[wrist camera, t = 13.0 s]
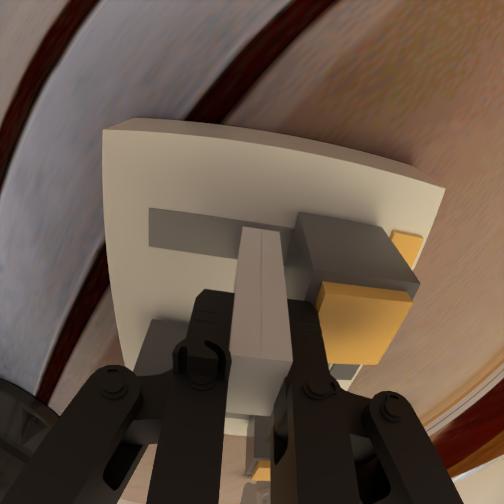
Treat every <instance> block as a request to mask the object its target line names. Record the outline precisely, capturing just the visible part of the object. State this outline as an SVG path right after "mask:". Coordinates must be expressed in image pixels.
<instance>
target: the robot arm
mask: <svg viewBox="0 0 504 504" xmlns="http://www.w3.org/2000/svg"><path fill="white" fill-rule="evenodd" d="M172 359H173V368H172V369H170V370H169V371H167V372H164V373H162V374H157V375H147V376H136V374H135V373H134V372H133V371H131V370H130V369H128V368H127V367H123V366H120V365H107V366H104V367H102V368H99V369H98V370H96V371H95V372H94V373H93V374H92V375H91V376H90V377H89V379H88V380H87V381H86V383H85V384H84V385H83V386H82V388H81V389H80V390H79V392H78V393H77V394H76V396H75V397H74V398H73V400H72V401H71V402H70V404H69V405H68V406H67V408H66V409H65V410H64V412H63V413H62V414H61V416H60V417H58V416H57V415H56V414H55V413H54V412H53V411H52V410H50V409H49V408H48V407H47V406H45V405H44V404H43V403H41V402H40V401H39V400H37V399H36V398H34V397H33V396H31V395H30V394H28V393H27V392H25V391H24V390H22V389H20V388H18V387H17V386H15V385H13V384H11V383H9V382H6V381H4V380H0V504H117V502H118V500H119V498H120V497H121V495H122V493H123V491H124V489H125V487H126V486H127V484H128V482H129V480H130V478H131V476H132V475H133V473H134V471H135V469H136V467H137V465H138V464H139V462H140V460H141V458H142V456H143V454H144V453H145V451H146V449H147V447H148V445H149V444H157V443H158V445H157V450H156V455H155V460H154V465H153V470H152V475H151V480H150V485H149V491H148V496H147V502H146V504H218V502H219V489H220V476H221V463H222V451H223V439H224V427H225V415H226V412H228V413H238V414H247V415H259V416H271V414H272V411H273V409H274V423H273V425H272V427H271V429H270V431H269V433H268V435H267V438H266V442H265V443H268V444H269V442H270V504H464V503H463V501H462V499H461V498H460V495H459V493H458V491H457V490H456V487H455V485H454V483H453V481H452V479H451V478H450V476H449V474H448V472H447V470H446V468H445V466H444V464H443V462H442V460H441V458H440V457H439V455H438V453H437V451H436V449H435V447H434V445H433V444H432V442H431V440H430V438H429V436H428V434H427V433H426V431H425V429H424V427H423V426H422V424H421V422H420V420H419V418H418V417H417V415H416V413H415V411H414V410H413V408H412V406H411V404H410V403H409V402H408V401H407V400H406V398H405V397H403V396H402V395H400V394H398V393H396V392H392V391H382V392H380V393H378V394H376V395H375V396H374V397H373V398H372V399H370V398H366V397H363V396H359V395H356V394H353V393H350V392H348V391H345V390H344V389H342V388H341V387H340V385H339V382H338V381H337V380H336V379H335V378H334V377H333V376H332V375H331V374H330V371H329V366H328V361H327V356H326V350H325V345H324V340H323V336H322V330H321V326H320V320H319V315H318V312H317V310H316V309H315V308H314V306H313V305H312V304H311V302H310V301H302V300H294V299H287V295H286V286H285V277H284V268H283V259H282V250H281V241H280V233H279V232H277V231H271V230H264V229H257V228H250V227H244V226H243V228H242V234H241V241H240V247H239V254H238V260H237V267H236V274H235V280H234V289H233V293H232V292H225V291H218V290H211V289H204V290H203V291H202V292H201V293H200V294H199V295H198V296H197V297H196V299H195V302H194V306H193V311H192V314H191V318H190V322H189V326H188V330H187V334H186V338H185V339H184V340H182V341H181V342H179V343H178V344H177V345H176V346H175V348H174V350H173V352H172Z"/></svg>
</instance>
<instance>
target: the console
mask: <svg viewBox="0 0 504 504" xmlns="http://www.w3.org/2000/svg"><path fill="white" fill-rule="evenodd" d="M102 182H103V208H104V225H105V238H106V249H107V259H108V268H109V276H110V284H111V291H112V298H113V305H114V311H115V317H116V323H117V329H118V334H119V339H120V344H121V349H122V354H123V359H124V363H125V367H127V368H128V369H130V370H131V371H133V369H134V367H135V364H136V361H137V358H138V355H139V352H140V350H141V347H142V344H143V341H144V339H145V336H146V333H147V330H148V328H149V325H150V322H151V320H152V319H155V320H161V321H167V322H172V323H178V324H184V325H189V322H190V318H191V314H192V311H193V306H194V302H195V299H196V297H197V296H198V295H199V294H200V293H201V292H202V291H203V290H204V289H211V290H218V291H225V292H232V293H233V289H234V280H235V274H236V267H237V260H238V254H239V247H240V241H241V234H242V228H243V226H244V227H250V228H257V229H264V230H271V231H277V232H279V233H280V241H281V250H282V259H283V268H285V264H286V260H287V256H288V252H289V248H290V244H291V240H292V236H293V232H294V228H295V223H296V219H297V215H298V211H299V212H304V213H310V214H316V215H322V216H327V217H333V218H338V219H344V220H349V221H354V222H359V223H365V224H370V225H375V226H380V227H382V228H383V229H384V231H385V232H386V234H387V235H388V236H389V238H390V239H391V241H392V242H393V243H394V245H395V246H396V248H397V249H398V251H399V252H400V253H401V255H402V256H403V258H404V259H405V261H406V262H407V264H408V265H409V267H410V268H411V270H412V271H413V270H414V267H415V265H416V263H417V261H418V258H419V256H420V254H421V252H422V249H423V247H424V244H425V242H426V240H427V237H428V235H429V232H430V230H431V227H432V225H433V222H434V220H435V217H436V214H437V212H438V209H439V206H440V203H441V201H442V198H443V195H444V192H445V188H444V187H442V186H441V185H440V184H438V183H437V182H435V181H434V180H433V179H431V178H430V177H428V176H427V175H425V174H424V173H422V172H421V171H419V170H418V169H416V168H415V167H413V166H412V165H409V164H405V163H402V162H399V161H395V160H392V159H388V158H385V157H381V156H377V155H374V154H370V153H366V152H362V151H358V150H355V149H350V148H346V147H342V146H338V145H334V144H329V143H325V142H320V141H315V140H311V139H306V138H301V137H296V136H290V135H285V134H279V133H274V132H268V131H261V130H255V129H249V128H242V127H234V126H227V125H219V124H210V123H201V122H191V121H180V120H167V119H152V118H133V119H130V120H127V121H124V122H121V123H119V124H116V125H113V126H111V127H108V128H105V129H103V139H102ZM328 366H329V371H330V374H331V375H332V376H333V377H334V378H335V379H336V380H337V381H338V382H339V385H340V387H341V388H342V389H344V390H345V391H347V389H348V388H349V386H350V385H351V383H352V382H353V380H354V378H355V377H356V375H357V374H358V372H359V370H360V369H361V367H362V366H363V365H358V364H333V363H328ZM250 418H251V415H247V414H238V413H228V412H226V415H225V427H224V434H230V435H240V436H247V427H248V424H249V421H250Z"/></svg>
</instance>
